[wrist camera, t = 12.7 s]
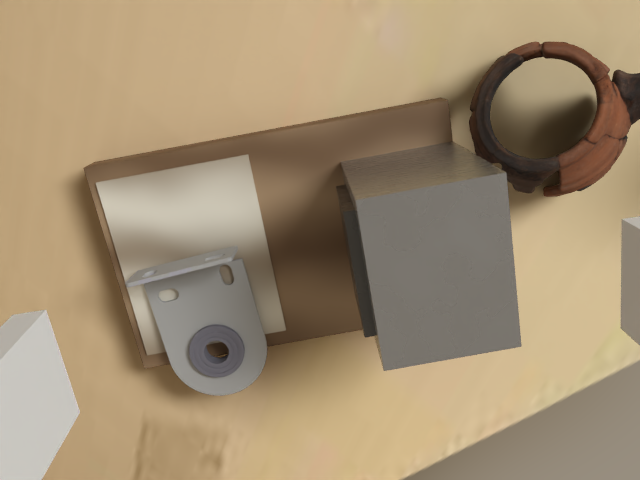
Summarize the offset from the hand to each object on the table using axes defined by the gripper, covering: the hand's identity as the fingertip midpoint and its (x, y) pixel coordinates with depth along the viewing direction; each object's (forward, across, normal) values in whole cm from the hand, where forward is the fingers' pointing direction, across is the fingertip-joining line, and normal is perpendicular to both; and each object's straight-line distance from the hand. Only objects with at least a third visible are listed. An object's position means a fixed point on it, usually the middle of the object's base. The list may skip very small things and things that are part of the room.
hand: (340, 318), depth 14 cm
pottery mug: (+27, +16, -1) cm, 31 cm away
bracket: (+24, -8, -10) cm, 27 cm away
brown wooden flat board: (+26, -3, -6) cm, 27 cm away
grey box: (+24, +5, -6) cm, 25 cm away
